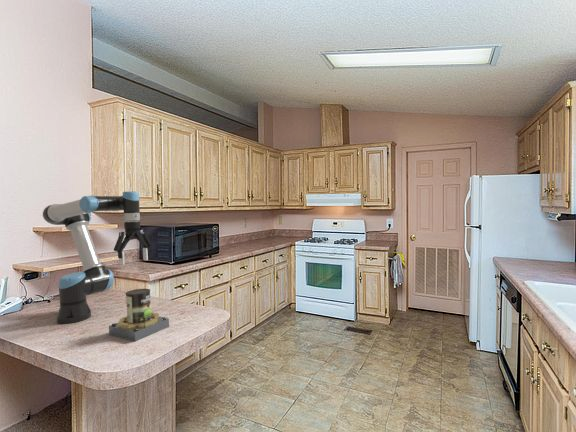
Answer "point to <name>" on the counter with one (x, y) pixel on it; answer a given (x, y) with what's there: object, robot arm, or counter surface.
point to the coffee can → (138, 306)
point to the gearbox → (138, 327)
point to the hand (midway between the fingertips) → (134, 262)
